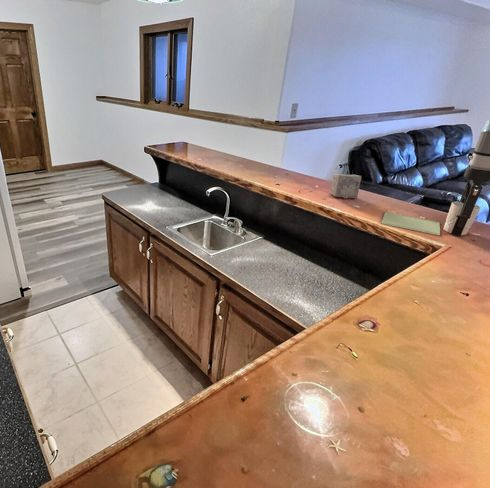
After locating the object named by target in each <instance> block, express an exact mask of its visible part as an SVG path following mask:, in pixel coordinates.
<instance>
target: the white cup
mask: <svg viewBox="0 0 490 488" xmlns="http://www.w3.org/2000/svg"><path fill="white" fill-rule="evenodd" d="M463 204H464V203H461V202H460V200H459V201H455V200H454V201H452V202H451V204H450V207H449V210H448V213H447V216H446V219H445V223H444V226H443V230H444V231H445V232H447V233H449V234H451V232H452V230H453V227H454V225H455V222H456V220H457V218H458V217H456V215H460V212H461V210H462V207H463ZM480 210H481V207H480V206H479V205H477V204H475V206H474V209H473V211H472V214H471V216H470V219H468V220H467V223H466V225H465V227H464V229H463V232H462V234H461V236H466V235H467V234H468V233H469V231H470V228H471V227H472V226H473V223H474V222H475V220H476V218H477V217H478V214H479V212H480ZM465 215H466V214H465Z"/></svg>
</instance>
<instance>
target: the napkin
mask: <svg viewBox="0 0 490 488" xmlns="http://www.w3.org/2000/svg"><path fill="white" fill-rule="evenodd" d="M440 223H441V222H439V221H434V220H429V219H423V218H419V217H414V216H408V215H404V214H403V215H402V214H398V213H392V212H387V211H385V212H384V215H383V217H382V220H381V223H380V224H381V225H386V226H390V227H396V228H400V229H405V230H410V231H414V232H419V233H424V234H428V235H434V236H437V237H440V236H441V224H440Z"/></svg>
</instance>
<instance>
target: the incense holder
mask: <svg viewBox="0 0 490 488" xmlns="http://www.w3.org/2000/svg"><path fill="white" fill-rule="evenodd" d="M361 181H362V175H357V174H344V173H336V172H335V173H333V176H332V183H331V188H330V191H329V195H332V196H333V197H335V198H336V197H337V198H343V199H344V200H347V199H348V198H352V199H358V196H359V192H360V187H361Z"/></svg>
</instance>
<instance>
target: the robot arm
mask: <svg viewBox="0 0 490 488" xmlns="http://www.w3.org/2000/svg"><path fill="white" fill-rule="evenodd" d="M468 159H469V162H468V166H467V167H466V169H465V171H464V173H463V178H464V179H466V180H467V183H466V184H465V188H464V190H463V192H462V195H461V197H460V199H459V201H460V202H461V203H464V204H463V207H462V210H461V212H460V215H456V217H458V218H457V220H456V222H455V225H454V227H453V230H452V232H451V233H450V235H453V236H456V237H457V236H458V237H461V236H462V235H461V234H462V232H463V229H464V227H465V225H466V223H467V220H468V219H470V216H471V214H472V211H473V209H474V206H475V205H477V201H478V199H479V197H480V195H481V193H482V190H483V186H482V183H490V118H488V119H487V120H486V122H485V123H484V125H483V127H482V130H481V131H480V134H479V137H478V139H477V142H476V144H475V147H474V150H473V152H472V155H469V156H468ZM465 214H466V215H465Z"/></svg>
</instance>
